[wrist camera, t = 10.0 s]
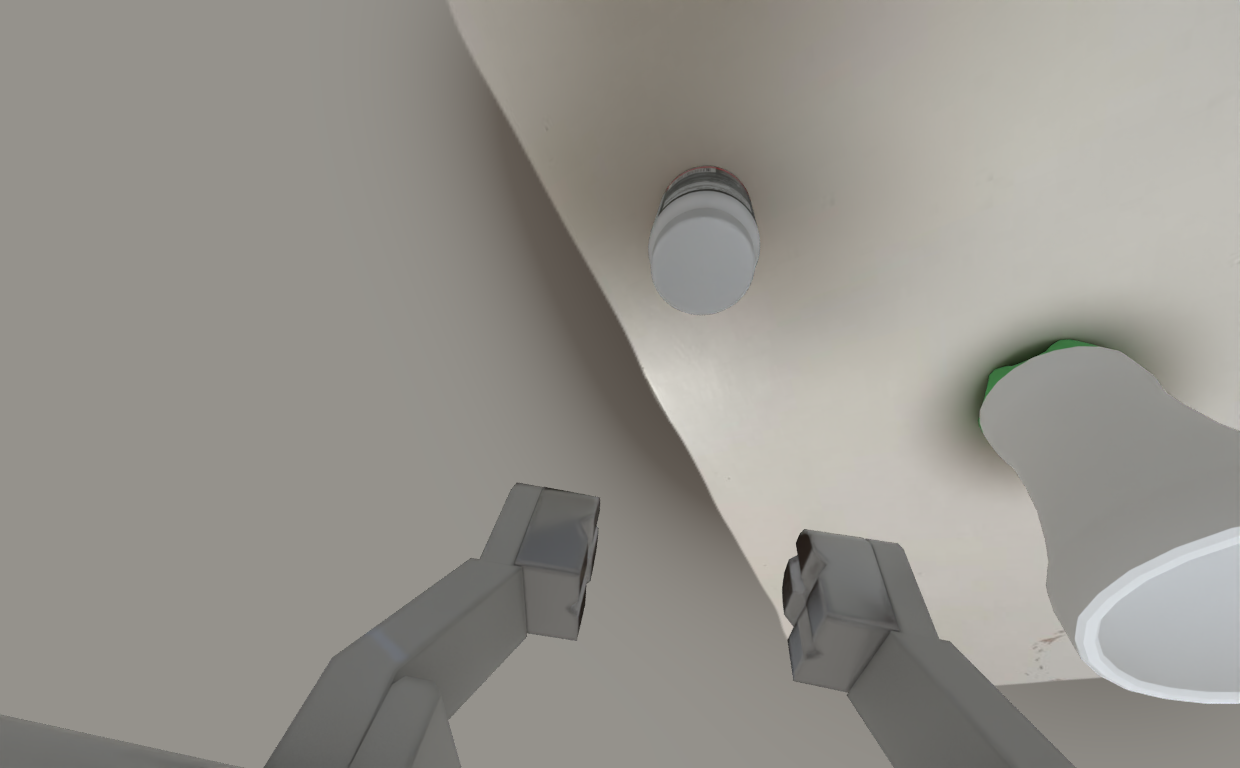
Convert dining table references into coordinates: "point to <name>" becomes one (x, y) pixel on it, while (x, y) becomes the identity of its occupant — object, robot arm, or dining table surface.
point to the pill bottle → (704, 242)
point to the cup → (1128, 517)
